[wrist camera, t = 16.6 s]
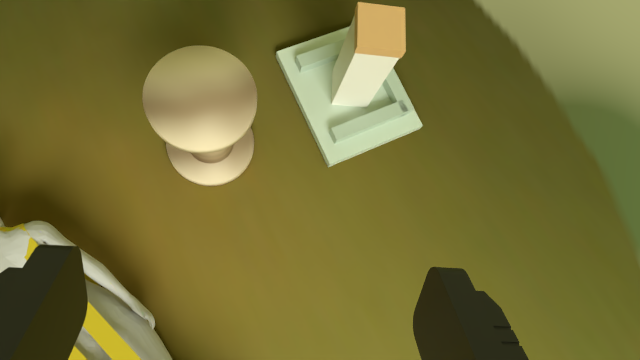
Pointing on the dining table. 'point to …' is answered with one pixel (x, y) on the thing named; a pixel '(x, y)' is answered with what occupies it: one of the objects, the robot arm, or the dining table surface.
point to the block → (368, 53)
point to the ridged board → (337, 120)
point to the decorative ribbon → (92, 301)
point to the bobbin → (203, 112)
